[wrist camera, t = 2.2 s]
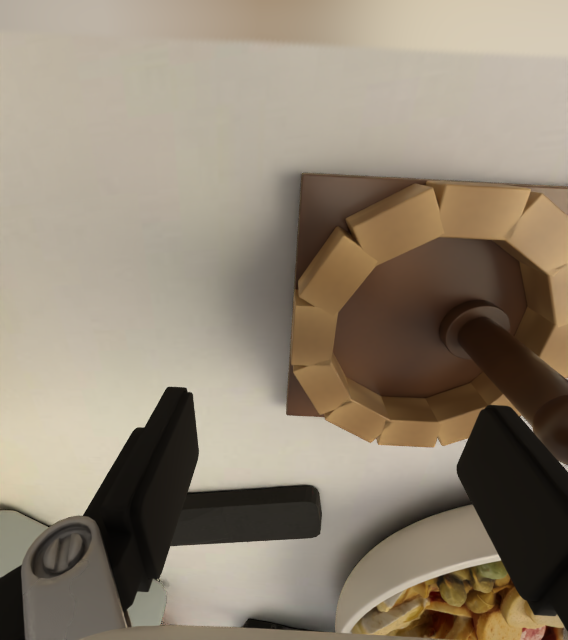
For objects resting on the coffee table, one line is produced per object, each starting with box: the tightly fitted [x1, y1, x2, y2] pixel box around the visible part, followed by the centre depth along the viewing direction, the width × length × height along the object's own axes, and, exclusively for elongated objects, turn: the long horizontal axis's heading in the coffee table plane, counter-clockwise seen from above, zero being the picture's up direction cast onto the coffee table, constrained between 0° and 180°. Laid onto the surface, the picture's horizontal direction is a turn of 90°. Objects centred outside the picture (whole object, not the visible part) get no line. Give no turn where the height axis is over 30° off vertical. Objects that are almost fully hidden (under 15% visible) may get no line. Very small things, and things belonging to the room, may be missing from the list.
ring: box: [291, 180, 568, 447], centre depth 16 cm, size 14×14×2 cm
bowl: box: [335, 504, 564, 640], centre depth 27 cm, size 30×30×8 cm
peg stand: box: [286, 173, 568, 465], centre depth 14 cm, size 14×14×9 cm
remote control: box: [170, 486, 322, 546], centre depth 26 cm, size 5×2×15 cm
